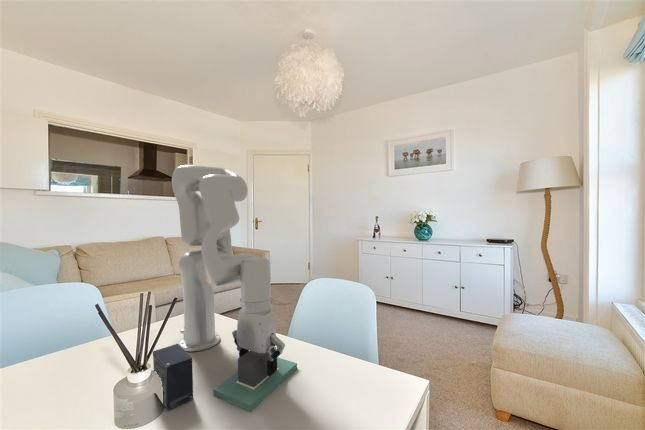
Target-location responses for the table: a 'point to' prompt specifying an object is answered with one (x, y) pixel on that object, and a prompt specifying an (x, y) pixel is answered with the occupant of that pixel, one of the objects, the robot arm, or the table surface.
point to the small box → (174, 375)
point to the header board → (253, 395)
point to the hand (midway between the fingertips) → (257, 368)
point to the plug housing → (252, 368)
